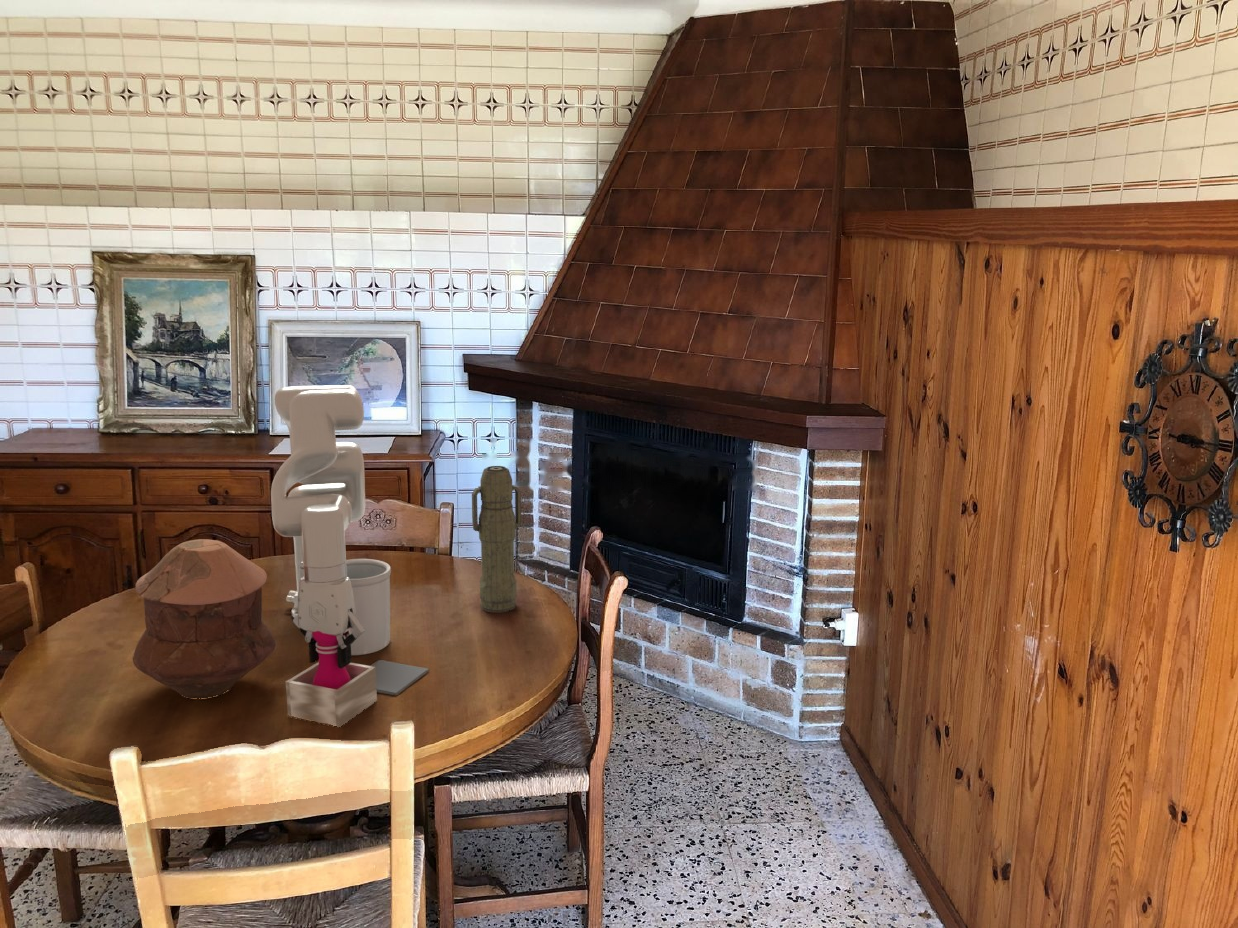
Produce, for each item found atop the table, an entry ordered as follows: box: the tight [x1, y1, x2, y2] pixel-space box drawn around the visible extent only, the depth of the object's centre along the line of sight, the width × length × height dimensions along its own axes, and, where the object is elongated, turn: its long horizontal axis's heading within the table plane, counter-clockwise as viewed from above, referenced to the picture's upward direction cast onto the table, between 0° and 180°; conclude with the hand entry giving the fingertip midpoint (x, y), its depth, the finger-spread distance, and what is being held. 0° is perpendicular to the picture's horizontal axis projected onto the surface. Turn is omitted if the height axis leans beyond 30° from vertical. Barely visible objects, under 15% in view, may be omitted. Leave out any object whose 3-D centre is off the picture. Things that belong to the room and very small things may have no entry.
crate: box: [285, 661, 378, 728], centre depth 179 cm, size 12×12×7 cm
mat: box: [370, 659, 429, 696], centre depth 193 cm, size 12×12×1 cm
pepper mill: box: [312, 631, 351, 690], centre depth 178 cm, size 7×7×20 cm
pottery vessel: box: [132, 538, 276, 699], centre depth 184 cm, size 26×26×30 cm
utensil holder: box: [344, 558, 392, 656], centre depth 209 cm, size 15×15×18 cm
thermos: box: [471, 465, 522, 614], centre depth 230 cm, size 9×12×35 cm
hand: (330, 661), depth 178 cm, fingers open, 5 cm apart
